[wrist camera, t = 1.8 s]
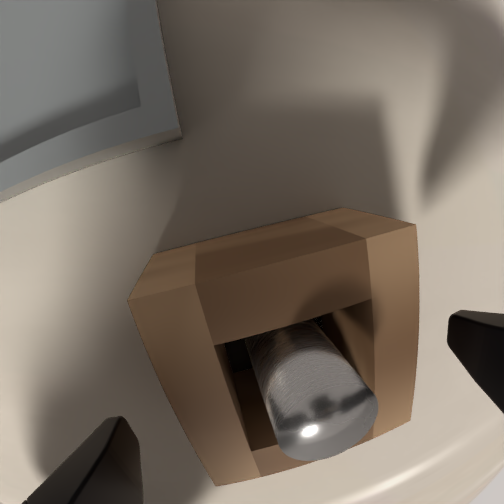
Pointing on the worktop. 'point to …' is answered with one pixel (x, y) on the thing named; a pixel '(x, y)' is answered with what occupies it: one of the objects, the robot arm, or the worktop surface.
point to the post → (310, 391)
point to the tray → (79, 87)
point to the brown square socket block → (279, 324)
